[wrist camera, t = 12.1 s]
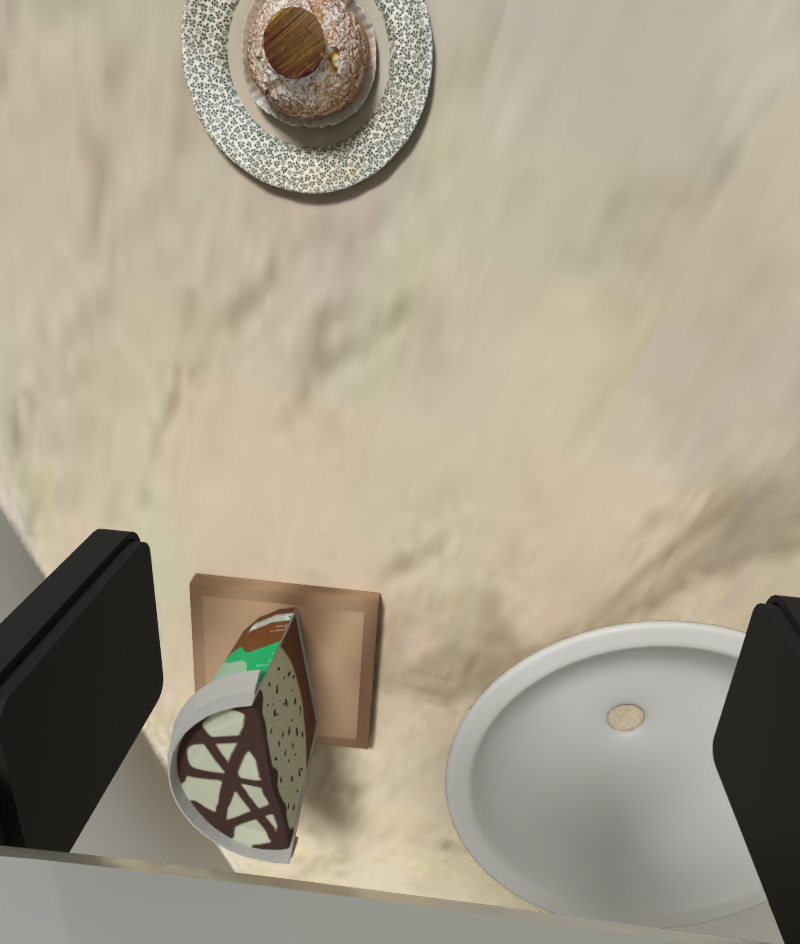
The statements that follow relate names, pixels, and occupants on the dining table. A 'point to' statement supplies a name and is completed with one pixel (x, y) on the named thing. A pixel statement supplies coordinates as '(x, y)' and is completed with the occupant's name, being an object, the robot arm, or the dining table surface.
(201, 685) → the board
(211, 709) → the food container
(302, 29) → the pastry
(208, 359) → the dining table surface
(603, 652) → the soup bowl
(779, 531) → the dining table surface
